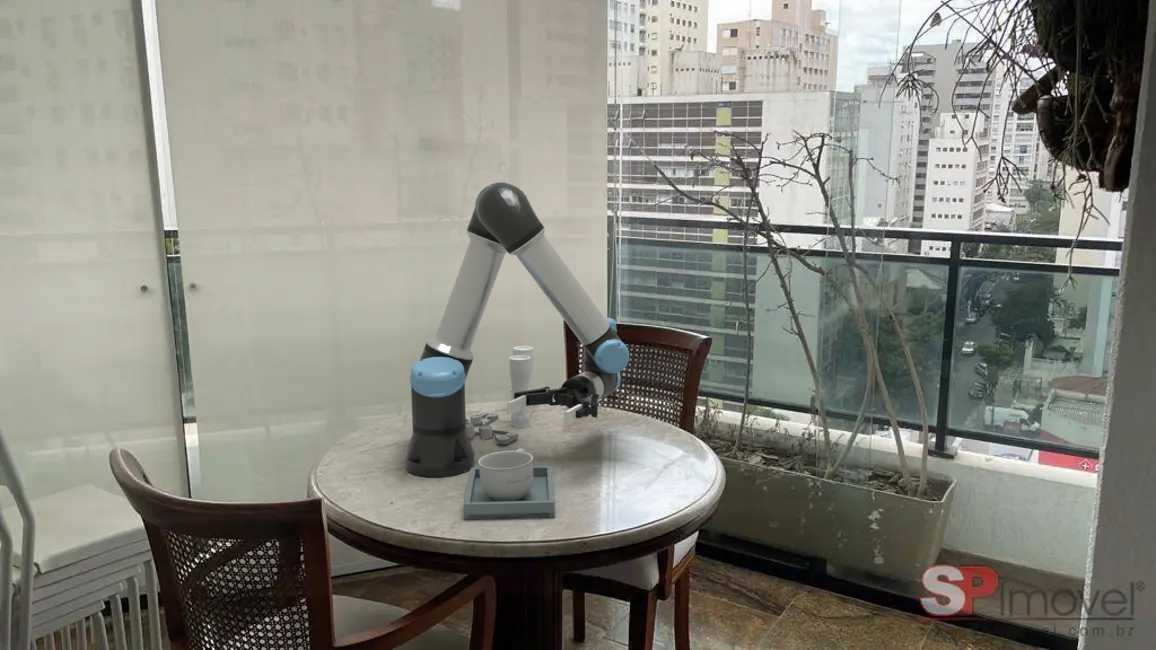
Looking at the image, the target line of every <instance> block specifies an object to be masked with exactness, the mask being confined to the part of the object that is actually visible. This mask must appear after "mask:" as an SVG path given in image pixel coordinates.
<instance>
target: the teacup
mask: <svg viewBox="0 0 1156 650" xmlns="http://www.w3.org/2000/svg"><path fill="white" fill-rule="evenodd" d="M533 461H534V456H533V455H532V454H531V453H529V452H527V450H526V449H524V448H517V449H516V450H499V451H495V452H491V453H488V454H486V455H483V456H482V457H480V458H479V459H478V463H477V464H478V467H479V470H480V480H481V486H482V489H483V491H484V493H485V494H486V495H488V496H489V497H491V498H492V499H493V500H496V501H500V502H506V501H515V500H518V499H521V498H522V497H524V496H525V495H526V493H528V492H529V491H530V490H531V488H532V486H533V466H534V464H533V463H534V462H533Z"/></svg>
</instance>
